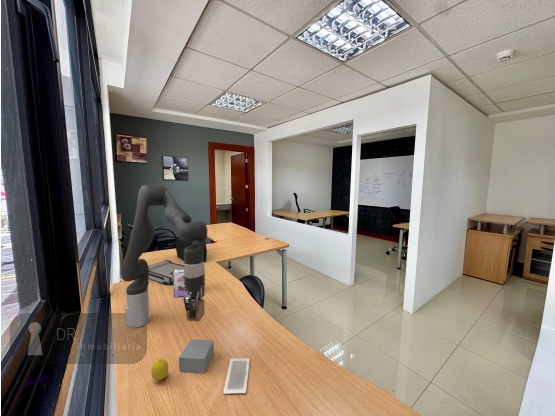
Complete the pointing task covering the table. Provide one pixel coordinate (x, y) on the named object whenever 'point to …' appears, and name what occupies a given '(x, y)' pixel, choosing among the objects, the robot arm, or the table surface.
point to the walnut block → (198, 311)
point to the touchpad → (237, 376)
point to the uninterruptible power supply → (182, 245)
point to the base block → (196, 356)
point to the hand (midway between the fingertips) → (195, 313)
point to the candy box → (179, 284)
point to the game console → (163, 271)
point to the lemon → (159, 369)
